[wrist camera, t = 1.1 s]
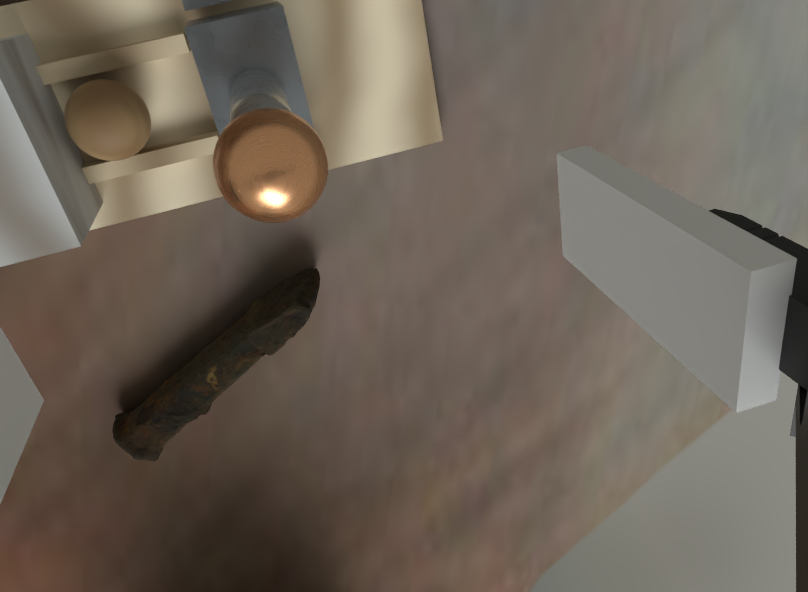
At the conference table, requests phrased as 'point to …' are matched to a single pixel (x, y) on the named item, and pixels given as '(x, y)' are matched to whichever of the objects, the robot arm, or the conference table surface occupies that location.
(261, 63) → the ball-top joystick
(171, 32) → the knob lever base plate
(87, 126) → the brown ball
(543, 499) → the conference table surface
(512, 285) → the conference table surface
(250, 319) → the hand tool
